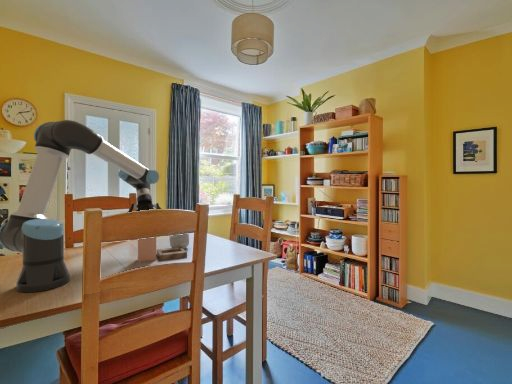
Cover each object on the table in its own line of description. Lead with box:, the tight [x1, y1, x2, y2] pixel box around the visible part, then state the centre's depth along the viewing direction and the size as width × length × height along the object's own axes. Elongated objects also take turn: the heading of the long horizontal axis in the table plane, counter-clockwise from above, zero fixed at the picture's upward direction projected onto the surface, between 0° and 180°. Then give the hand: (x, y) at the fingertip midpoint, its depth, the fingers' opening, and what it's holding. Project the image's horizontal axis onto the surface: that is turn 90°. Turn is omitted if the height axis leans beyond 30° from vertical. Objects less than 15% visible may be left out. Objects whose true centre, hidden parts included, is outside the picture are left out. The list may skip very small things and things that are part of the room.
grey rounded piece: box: [169, 233, 190, 250], centre depth 150 cm, size 14×11×8 cm
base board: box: [156, 247, 188, 261], centre depth 134 cm, size 13×12×2 cm
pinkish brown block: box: [137, 236, 157, 263], centre depth 127 cm, size 8×4×15 cm, turn 118°
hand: (147, 229), depth 133 cm, fingers open, 13 cm apart
